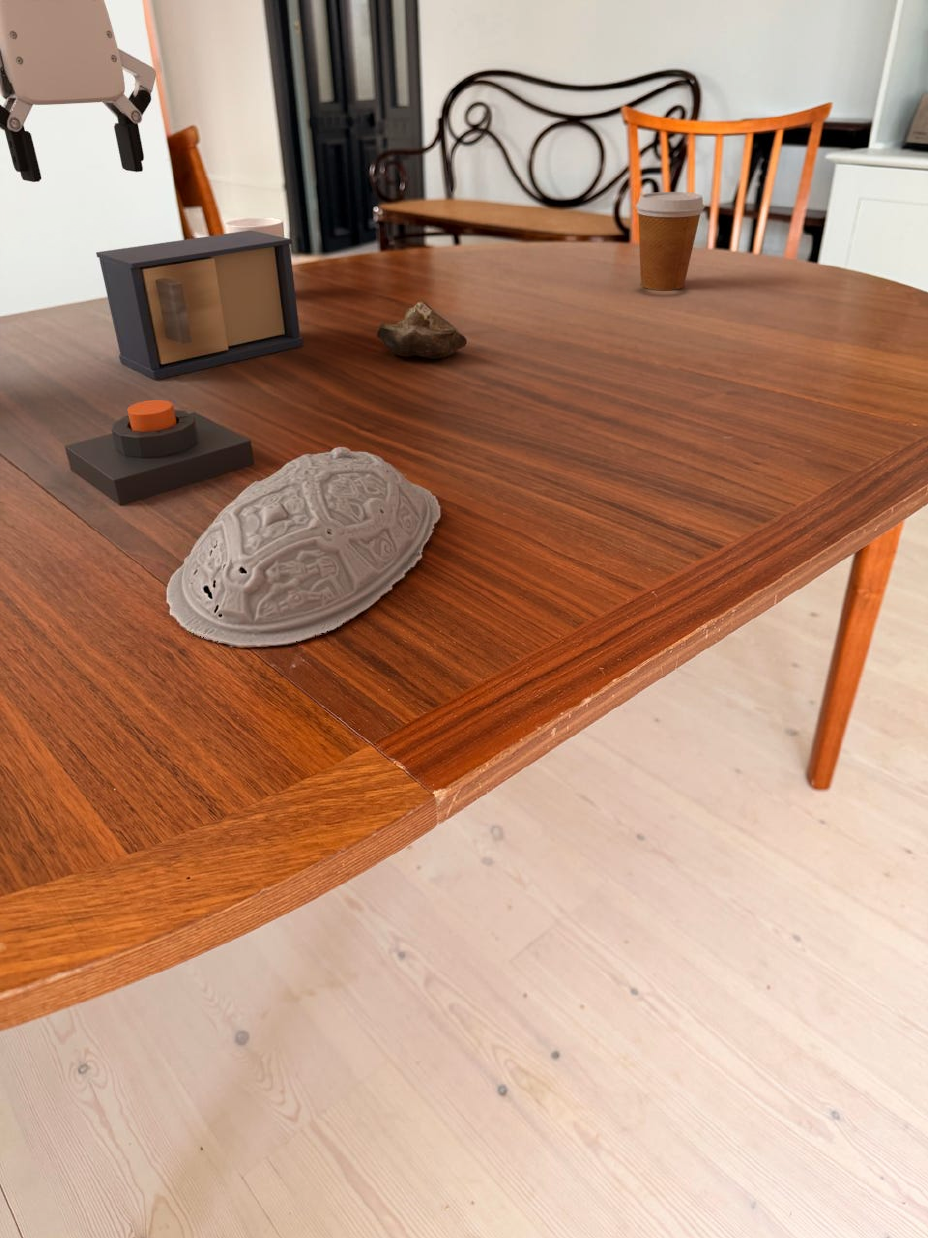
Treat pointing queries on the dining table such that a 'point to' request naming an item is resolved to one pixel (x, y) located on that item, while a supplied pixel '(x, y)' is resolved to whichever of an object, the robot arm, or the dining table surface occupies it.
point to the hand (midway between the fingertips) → (84, 175)
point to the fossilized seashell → (421, 334)
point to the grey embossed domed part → (303, 551)
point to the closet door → (185, 309)
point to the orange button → (151, 415)
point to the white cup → (257, 226)
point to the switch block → (158, 457)
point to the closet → (248, 293)
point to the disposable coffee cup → (667, 237)
